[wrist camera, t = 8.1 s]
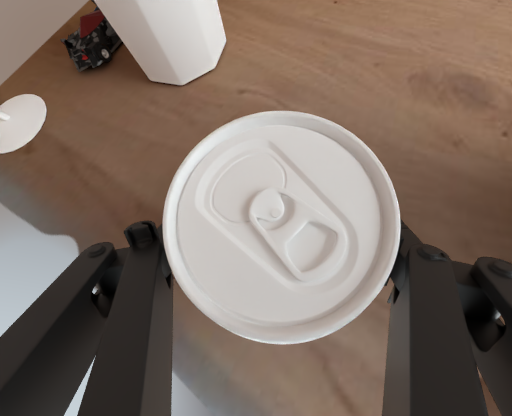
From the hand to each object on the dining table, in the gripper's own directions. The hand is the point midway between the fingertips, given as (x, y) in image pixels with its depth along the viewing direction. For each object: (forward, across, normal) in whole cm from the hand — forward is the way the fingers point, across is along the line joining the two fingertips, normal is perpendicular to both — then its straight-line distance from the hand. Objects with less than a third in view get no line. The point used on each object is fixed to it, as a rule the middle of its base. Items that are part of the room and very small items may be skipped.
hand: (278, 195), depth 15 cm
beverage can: (0, 0, -5) cm, 5 cm away
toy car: (+19, -23, +14) cm, 33 cm away
